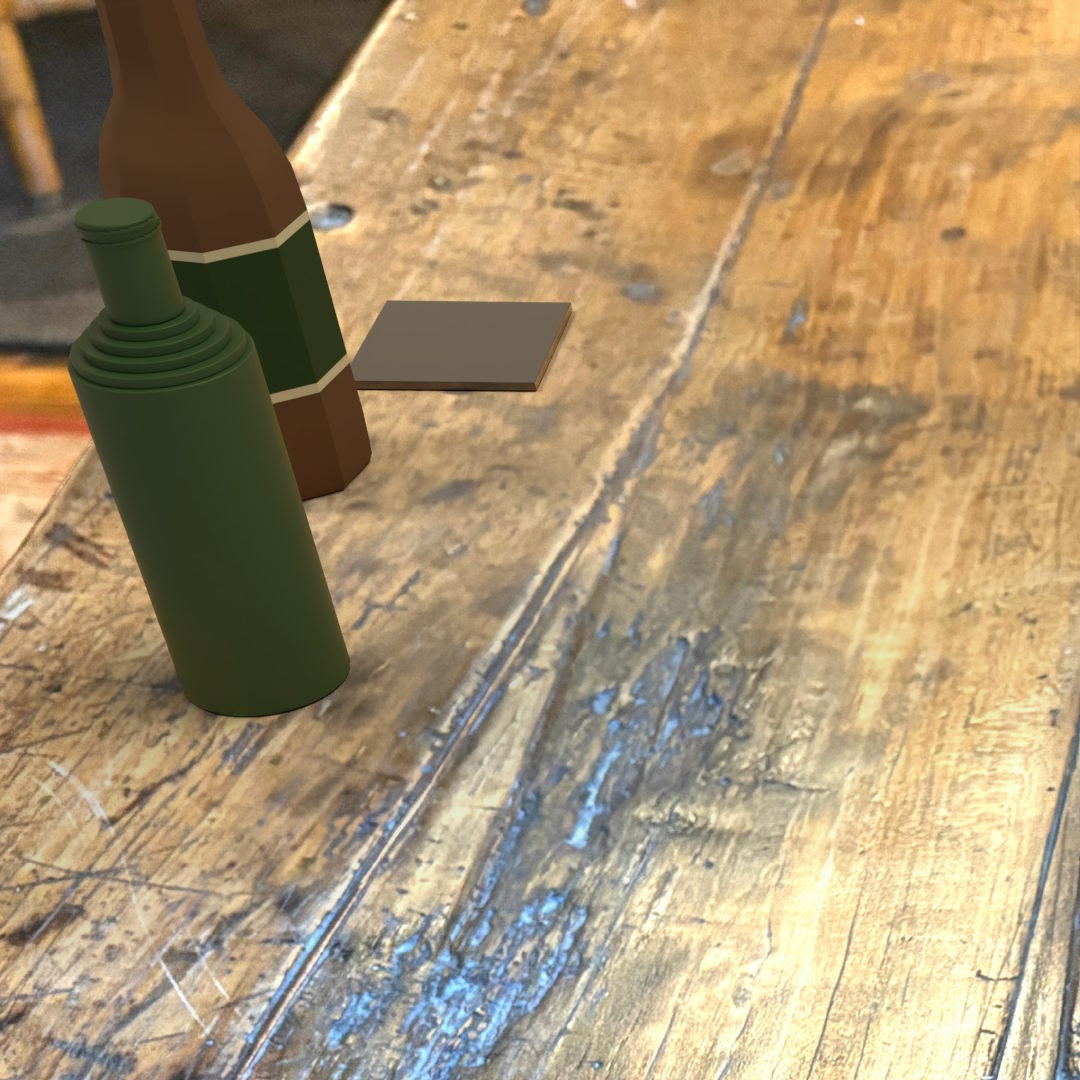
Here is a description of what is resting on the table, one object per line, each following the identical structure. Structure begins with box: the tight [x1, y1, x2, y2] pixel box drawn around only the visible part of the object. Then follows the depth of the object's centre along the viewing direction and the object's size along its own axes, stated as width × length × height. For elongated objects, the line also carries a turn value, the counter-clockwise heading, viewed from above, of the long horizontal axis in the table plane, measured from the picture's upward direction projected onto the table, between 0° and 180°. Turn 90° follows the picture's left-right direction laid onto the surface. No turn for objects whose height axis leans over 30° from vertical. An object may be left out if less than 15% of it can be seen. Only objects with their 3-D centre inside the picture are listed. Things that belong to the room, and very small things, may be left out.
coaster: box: [350, 299, 573, 392], centre depth 122 cm, size 9×9×1 cm
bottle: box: [66, 198, 351, 717], centre depth 95 cm, size 6×6×18 cm
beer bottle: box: [94, 0, 373, 501], centre depth 105 cm, size 8×8×24 cm
